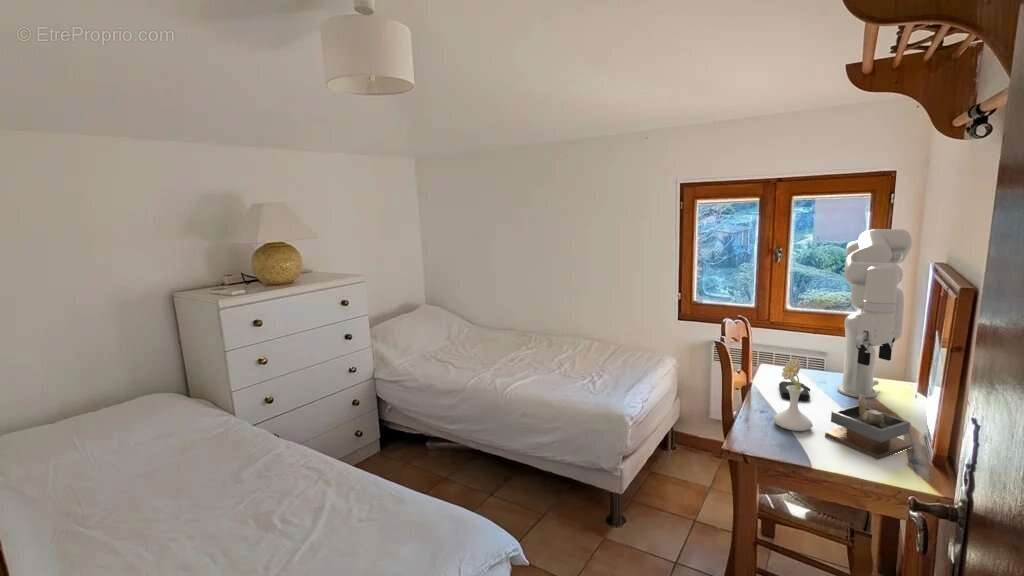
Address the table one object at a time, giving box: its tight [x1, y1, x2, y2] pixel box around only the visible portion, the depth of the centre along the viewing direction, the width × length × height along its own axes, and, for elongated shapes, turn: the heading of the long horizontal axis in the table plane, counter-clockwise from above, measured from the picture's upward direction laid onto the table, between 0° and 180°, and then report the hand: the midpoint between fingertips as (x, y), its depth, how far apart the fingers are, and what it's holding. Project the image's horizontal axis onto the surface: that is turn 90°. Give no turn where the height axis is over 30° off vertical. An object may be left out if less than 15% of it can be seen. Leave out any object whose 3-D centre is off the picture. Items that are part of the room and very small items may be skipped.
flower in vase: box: [773, 358, 814, 432], centre depth 158 cm, size 13×11×25 cm
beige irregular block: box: [857, 395, 884, 424], centre depth 149 cm, size 9×6×10 cm
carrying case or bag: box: [778, 380, 811, 402], centre depth 188 cm, size 11×3×15 cm
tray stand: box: [824, 403, 914, 461], centre depth 149 cm, size 16×16×8 cm
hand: (874, 361), depth 145 cm, fingers open, 9 cm apart
